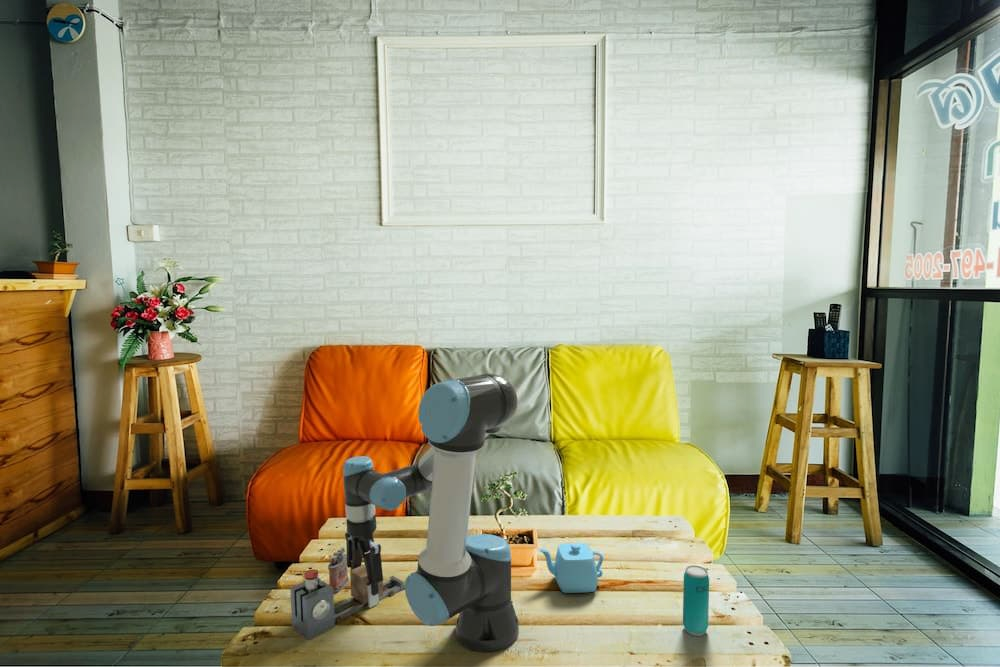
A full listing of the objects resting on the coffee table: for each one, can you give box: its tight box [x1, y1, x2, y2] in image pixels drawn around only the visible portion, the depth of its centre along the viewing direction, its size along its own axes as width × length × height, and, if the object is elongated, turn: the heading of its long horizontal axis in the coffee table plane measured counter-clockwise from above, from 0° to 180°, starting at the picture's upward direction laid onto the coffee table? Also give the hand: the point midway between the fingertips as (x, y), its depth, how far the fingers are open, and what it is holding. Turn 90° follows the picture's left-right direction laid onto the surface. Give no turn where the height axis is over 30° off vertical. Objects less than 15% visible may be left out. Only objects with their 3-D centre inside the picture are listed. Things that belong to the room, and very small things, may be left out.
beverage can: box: [682, 565, 710, 637], centre depth 136 cm, size 6×6×15 cm
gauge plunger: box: [303, 569, 319, 595], centre depth 139 cm, size 3×3×7 cm
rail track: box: [294, 575, 405, 637], centre depth 147 cm, size 6×29×2 cm, turn 136°
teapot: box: [538, 542, 604, 594], centre depth 157 cm, size 12×18×12 cm
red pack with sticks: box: [327, 546, 350, 595], centre depth 157 cm, size 8×3×10 cm, turn 168°
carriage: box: [349, 563, 384, 604], centre depth 150 cm, size 6×6×7 cm
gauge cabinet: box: [289, 576, 336, 641], centre depth 139 cm, size 8×7×10 cm
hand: (366, 599), depth 151 cm, fingers open, 6 cm apart
